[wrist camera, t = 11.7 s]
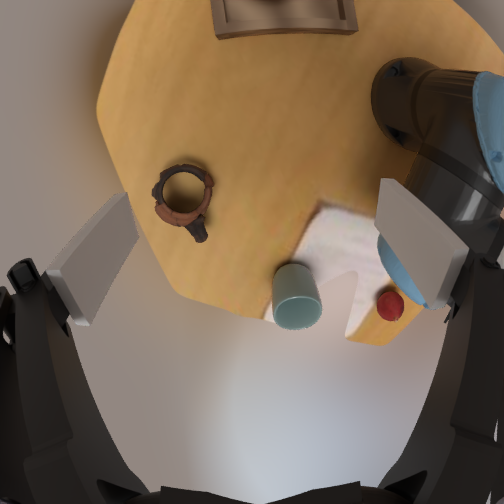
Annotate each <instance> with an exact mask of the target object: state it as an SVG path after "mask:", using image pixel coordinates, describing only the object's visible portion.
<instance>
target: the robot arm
mask: <svg viewBox="0 0 504 504" xmlns="http://www.w3.org/2000/svg"><path fill="white" fill-rule="evenodd" d="M371 104H372V109H373V113H374V116H375V119H376V121H377V123H378V125H379V127H380V128H381V130H382V131H383V133H384V134H385V135H386V136H387V137H388V138H389V139H390V140H391V141H393V142H394V143H396V144H397V145H399V146H401V147H403V148H405V149H407V150H410V151H414V152H418V154H417V157H416V159H415V161H414V163H413V166H412V168H411V170H410V172H409V174H408V177H407V179H406V181H405V183H404V185H403V186H402V185H401V184H400V183H398V182H397V181H396V180H395V179H391V178H381V182H380V190H379V198H378V205H377V211H376V218H375V224H374V225H375V227H376V228H377V229H378V231H379V232H380V234H379V237H378V242H377V248H378V253H379V256H380V259H381V262H382V264H383V266H384V268H385V269H386V271H387V273H388V274H389V276H390V277H391V278H392V280H393V281H394V282H395V284H396V285H397V286H398V287H399V288H400V289H401V290H402V291H403V292H404V293H405V294H406V295H407V296H408V297H409V298H410V299H411V300H413V301H414V302H416V303H417V304H419V305H422V304H423V306H424V307H425V308H427V309H430V310H435V309H438V308H443V307H445V305H446V303H447V304H448V305H449V306H450V307H451V310H450V312H449V314H448V315H447V317H446V319H445V321H444V323H446V322H447V321H448V320H449V321H448V326H447V331H446V335H445V339H444V343H443V347H442V351H441V355H440V358H439V362H438V365H437V368H436V372H435V375H434V378H433V381H432V384H431V387H430V390H429V393H428V396H427V398H426V401H425V403H424V406H423V408H422V411H421V414H420V416H419V418H418V421H417V423H416V426H415V428H414V430H413V432H412V434H411V437H410V438H409V441H408V443H407V445H406V447H405V449H404V451H403V453H402V455H401V456H400V458H399V459H398V461H397V462H396V463H395V464H394V466H393V467H392V468H391V469H390V470H389V471H388V472H387V474H386V475H385V477H384V478H383V479H382V481H381V483H380V484H379V486H378V487H377V488H376V487H366V486H361V485H360V481H357V482H353V483H348V484H343V485H339V486H333V487H327V488H320V489H313V490H310V491H307V492H304V493H301V494H298V495H295V496H292V497H288V498H285V499H282V500H278V501H275V502H270V503H267V504H486V502H487V499H488V496H489V494H490V492H491V499H490V501H491V502H490V504H504V219H502V218H501V217H500V214H501V211H502V209H503V207H504V77H503V76H499V75H496V74H493V73H491V72H488V71H484V72H477V71H467V70H454V69H440V68H439V67H437V66H435V65H433V64H431V63H429V62H427V61H425V60H422V59H419V58H413V57H407V58H398V59H394V60H392V61H390V62H388V63H386V64H385V65H384V66H383V67H382V68H381V69H380V70H379V72H378V73H377V75H376V77H375V79H374V82H373V85H372V91H371ZM138 239H139V235H138V231H137V228H136V225H135V221H134V217H133V213H132V209H131V206H130V202H129V198H128V194H127V192H125V193H119V194H115V195H114V196H113V197H112V198H110V199H109V200H108V201H107V202H106V203H105V204H104V205H103V206H102V207H101V208H100V209H99V211H97V212H96V213H95V214H94V215H93V216H92V217H91V219H90V220H89V221H88V222H87V223H86V224H85V225H84V226H83V227H82V228H81V229H80V230H79V231H78V233H77V234H76V235H75V236H74V237H73V238H72V239H71V240H70V241H69V243H68V244H67V245H66V246H65V247H64V249H62V251H61V252H60V253H59V254H58V255H57V257H56V258H55V259H54V260H53V261H52V263H51V264H50V265H49V267H48V268H47V269H46V270H45V272H44V273H43V274H42V276H40V275H39V273H38V271H37V269H36V267H35V265H34V263H33V261H32V259H31V258H26V259H23V260H21V261H19V262H18V263H16V264H15V265H14V266H13V267H12V268H11V269H10V270H9V271H8V274H7V277H8V279H9V281H10V283H11V284H12V286H13V288H14V289H15V291H16V294H13V295H10V294H9V292H8V291H7V289H6V287H4V286H2V287H0V504H252V503H247V502H243V501H238V500H234V499H230V498H227V497H223V496H219V495H216V494H212V493H209V492H202V491H192V490H184V489H178V488H171V487H166V486H161V491H158V492H152V493H150V492H149V491H148V489H147V488H146V487H145V485H144V484H143V482H142V481H141V480H140V479H139V478H138V477H137V476H136V475H135V474H134V473H133V472H132V471H131V470H130V469H129V468H128V466H127V465H126V463H125V462H124V460H123V458H122V456H121V455H120V453H119V451H118V449H117V447H116V445H115V444H114V442H113V440H112V438H111V436H110V434H109V432H108V430H107V428H106V425H105V423H104V421H103V419H102V417H101V414H100V412H99V410H98V408H97V405H96V403H95V400H94V398H93V396H92V393H91V391H90V388H89V385H88V383H87V380H86V377H85V374H84V371H83V368H82V366H81V362H80V359H79V356H78V353H77V350H76V347H75V343H74V340H73V336H72V332H71V328H70V326H69V324H68V323H67V321H66V320H67V318H68V316H69V314H70V315H71V317H72V319H73V320H74V322H75V323H76V325H85V326H90V325H91V323H92V321H93V319H94V317H95V315H96V313H97V311H98V309H99V307H100V305H101V303H102V301H103V299H104V298H105V296H106V294H107V292H108V290H109V288H110V287H111V285H112V283H113V281H114V279H115V277H116V275H117V274H118V272H119V270H120V269H121V267H122V265H123V263H124V262H125V260H126V258H127V257H128V255H129V253H130V252H131V250H132V248H133V247H134V245H135V243H136V242H137V240H138ZM3 331H4V332H5V334H6V335H7V336H8V337H9V339H10V343H9V344H8V343H7V342H6V341H5V339H4V338H3ZM497 419H498V425H497V442H495V440H494V432H495V427H496V423H497Z"/></svg>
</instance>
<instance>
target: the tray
mask: <svg viewBox="0 0 504 504" xmlns="http://www.w3.org/2000/svg"><path fill="white" fill-rule="evenodd" d="M211 8H212V15H213V22H214V30H215V35H216V37H217V38H218V39H219V40H221V39H227V38H234V37H243V36H252V35H263V34H280V33H325V34H342V35H351V34H353V33H355V32H357V31H358V25H357V18H356V12H355V7H354V1H353V0H211Z"/></svg>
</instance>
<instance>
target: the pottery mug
mask: <svg viewBox="0 0 504 504" xmlns="http://www.w3.org/2000/svg"><path fill="white" fill-rule="evenodd" d="M179 172H188V173H191V174H194V175H195V176H197V177H198V178H199V179H200V180H201V181H203V182H204V184H205V189H204V198H203V201H202V203H201V204H200V205H199V207H197V208H196V209H195V210H193V211H191V212H187V213H180V212H176V211H174V210H172V209H171V208H170V207H168V205H167V204H166V203H165V201H164V199H163V187H164V184H165V182H166V180H167V179H168V178H169V177H170V176H172V175H173V174H176V173H179ZM160 178H161V179H160V181H159V182H158V183H157V184H155V186H154V188H153V189H152V196H153V197H154V198H155V199H156V200H157V201H156V206H155V211H156V213H157V214H158V216H159V217H160V218H161V219H162V220H163V221H165V222H166V223H169V224H171V225H174V226H178V227H181V226H183V227H185V228H186V229H187V230H188V231H189V232H190V234H191V235H192V236H193V237H194V238H195V241H196V242H198V243H202V242H204V241H206V239H207V237H208V234H207V232H206V229H205V226H204V219H205V217H204V216H203V215H202V214H204V213H205V211H206V210H207V208H208V206H209V203H210V200H211V196H212V187H213V186H214V183H213V181H212V179H211V177H210V176H209V175H208V174H207V172H206V171H205V170H203V169H201V168H199V167H196V166H194V165H190V164H182V165H175V166H172V167H170V168H169V169H166V170H164V171H162V172H161V173H160ZM211 186H212V187H211Z"/></svg>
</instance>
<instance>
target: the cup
mask: <svg viewBox="0 0 504 504" xmlns="http://www.w3.org/2000/svg"><path fill="white" fill-rule="evenodd" d="M272 310H273V317H274V320H275V322H276V323H277V324H278V325H279V326H280V327H282V328H285V329H289V330H300V329H305V328H308V327H310V326H312V325H313V324H315V323H316V322H317V321H318V319H319V318H320V316H321V314H322V304H321V299H320V295H319V291H318V288H317V285H316V282H315V279H314V277H313V275H312V274H311V272H310V271H309V270H308V269H307V268H306V267H304V266H302V265H300V264H287V265H284V266H282V267H281V268H279V269H278V270H277V272H276V273H275V276H274V278H273V282H272Z"/></svg>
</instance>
